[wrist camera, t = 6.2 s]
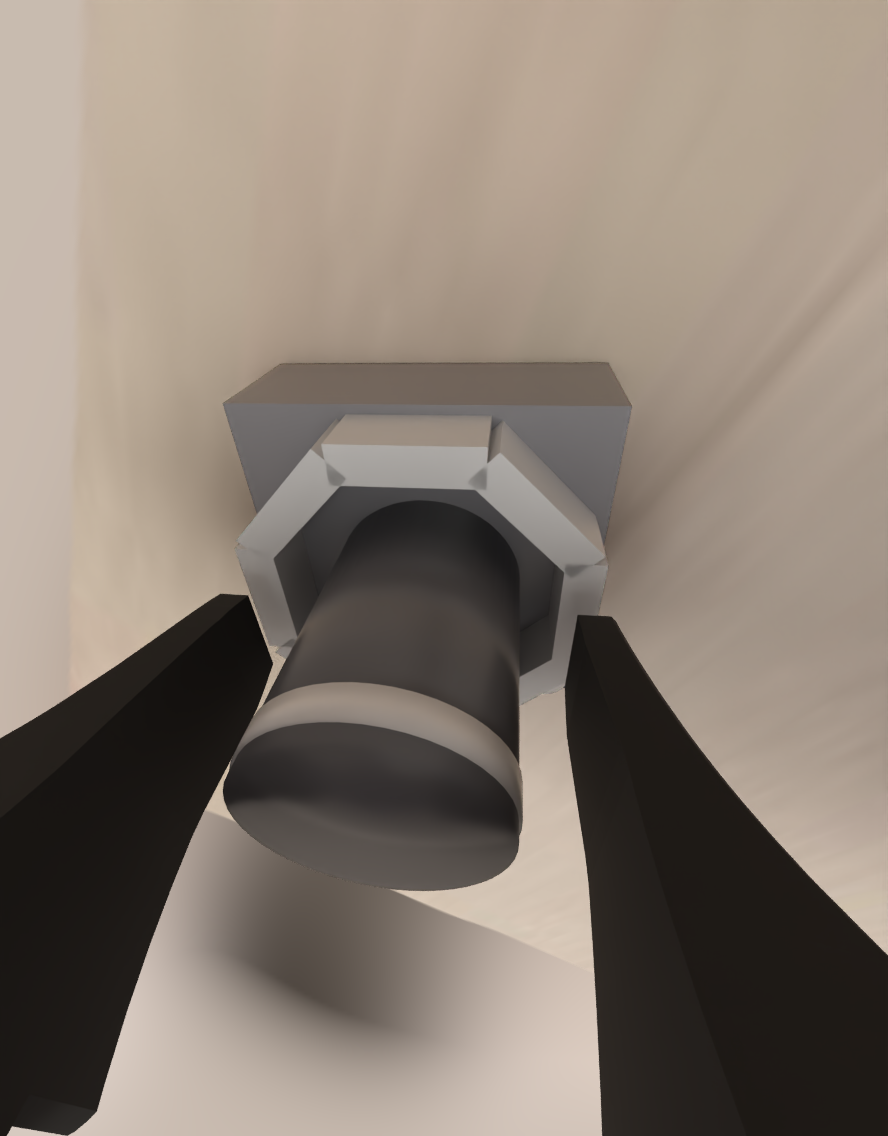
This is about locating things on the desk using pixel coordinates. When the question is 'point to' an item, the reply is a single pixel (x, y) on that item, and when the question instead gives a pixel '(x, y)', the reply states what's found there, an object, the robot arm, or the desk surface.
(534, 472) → the mount
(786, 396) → the desk surface
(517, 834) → the lens
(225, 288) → the desk surface
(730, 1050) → the robot arm
